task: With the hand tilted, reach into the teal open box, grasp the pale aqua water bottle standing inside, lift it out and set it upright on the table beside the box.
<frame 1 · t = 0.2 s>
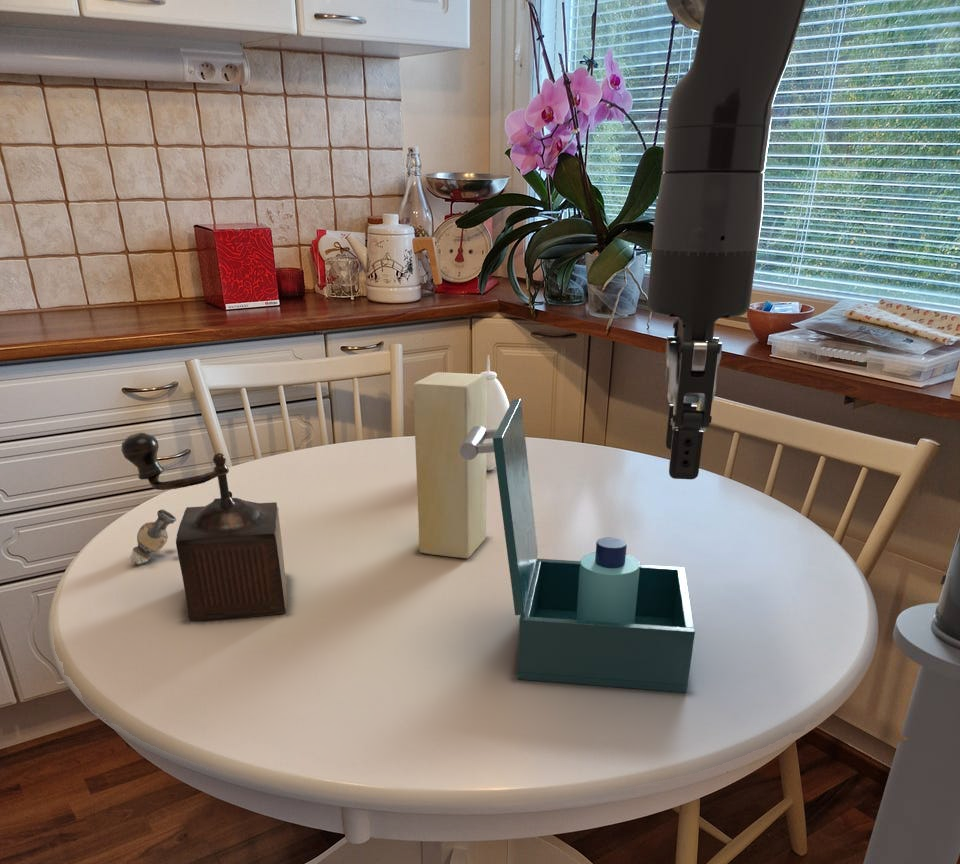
hand: (680, 462, 69), 21 cm above the table, tool pointing down, fingers open, 8 cm apart
toy refrigerator: (450, 546, 109), on the table
vase: (159, 559, 105), on the table
manual coffee grinder: (217, 600, 95), on the table
water bottle: (603, 646, 84), point 1 cm above the table, touching teal open box
sauce bottle: (487, 469, 139), on the table
teal box lid: (498, 504, 80), point 15 cm above the table, hinge at 98.0°
teal open box: (602, 648, 85), on the table
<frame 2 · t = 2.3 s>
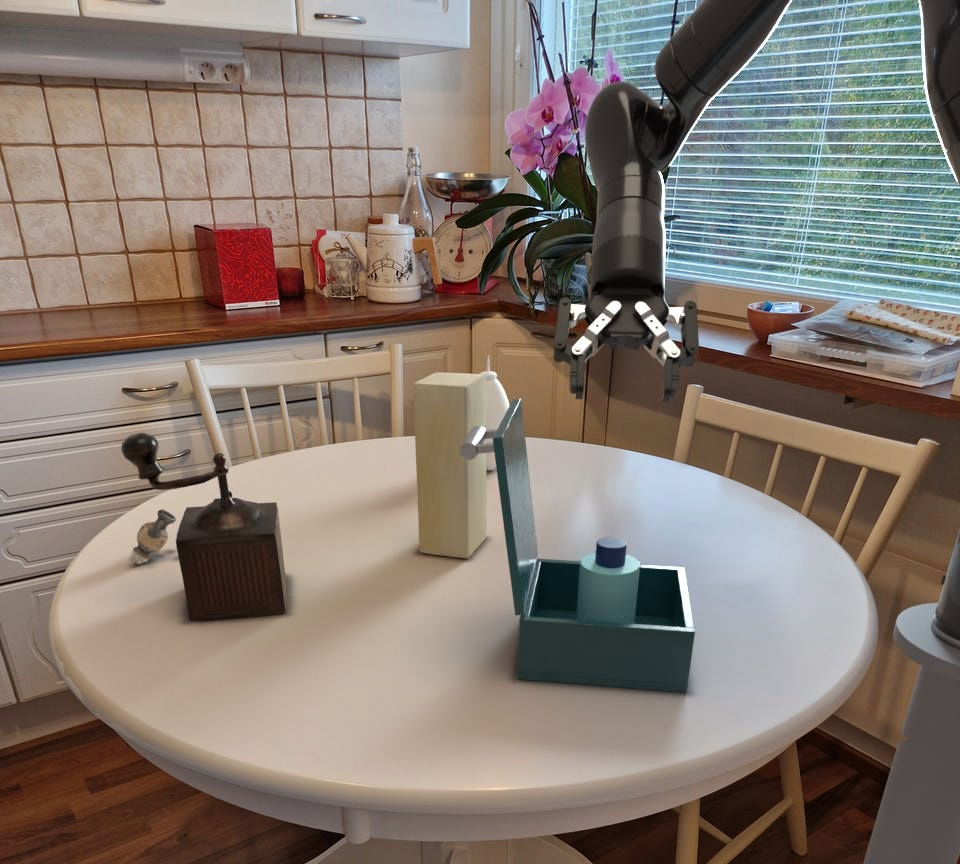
hand: (623, 396, 84), 23 cm above the table, tool tilted 45°, fingers open, 8 cm apart
nothing on the table moved.
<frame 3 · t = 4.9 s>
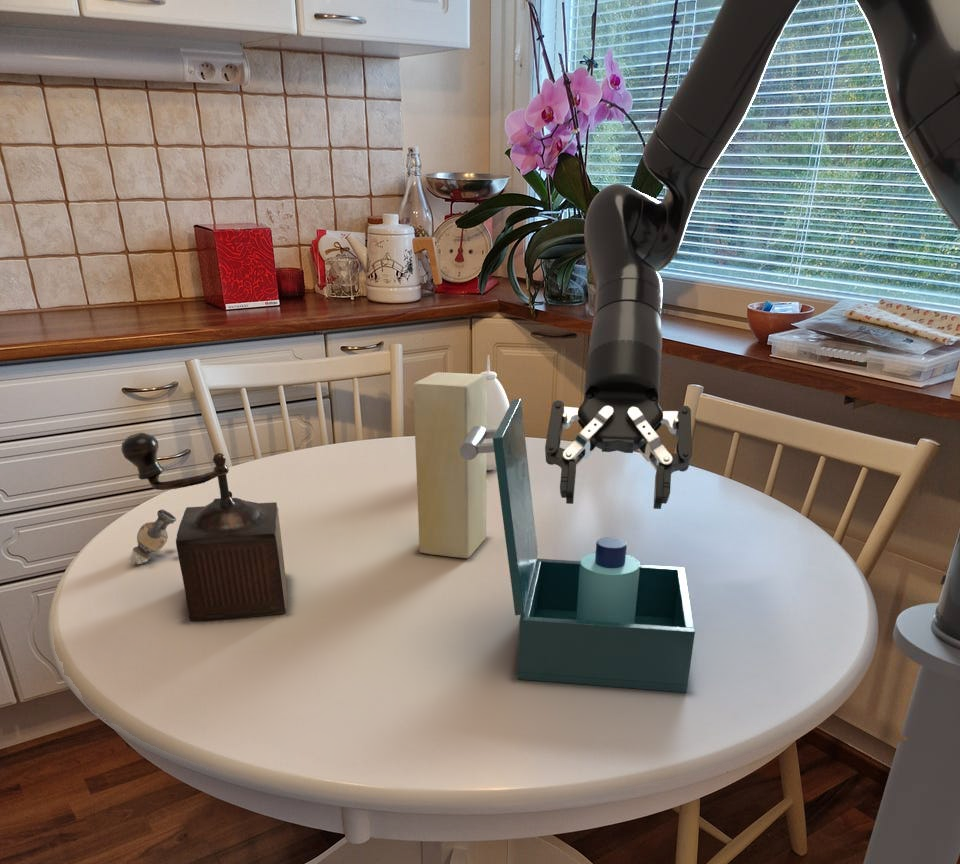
hand: (613, 503, 82), 14 cm above the table, tool tilted 45°, fingers open, 8 cm apart
nothing on the table moved.
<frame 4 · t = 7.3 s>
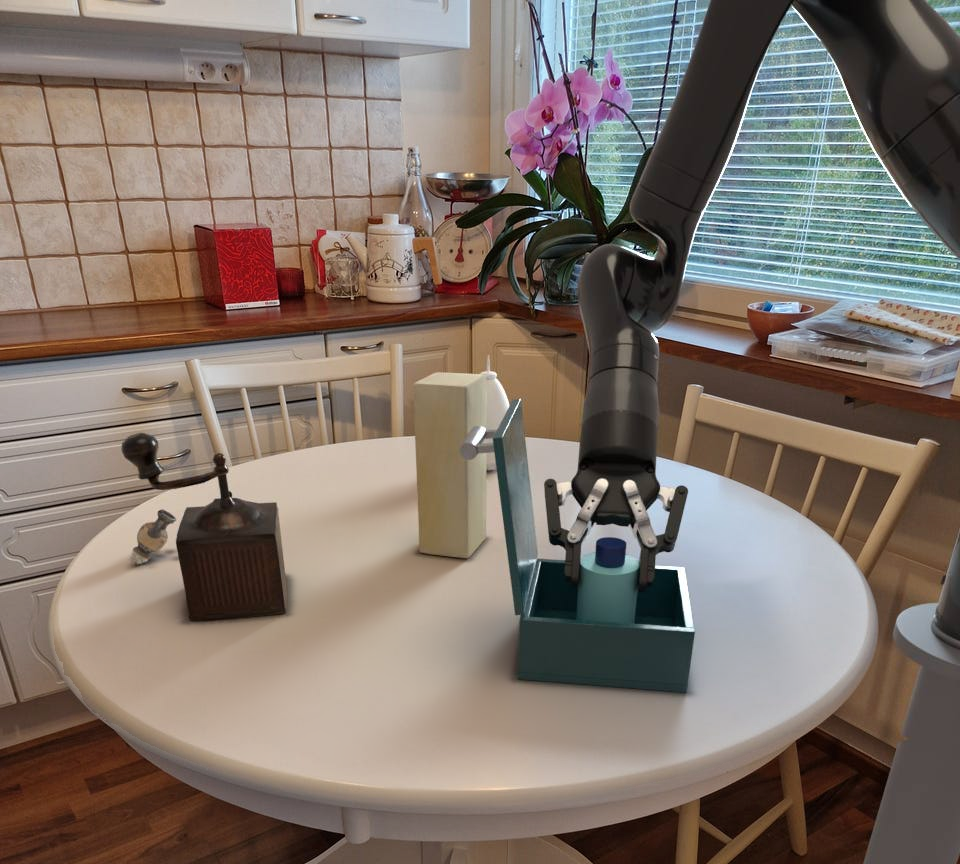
hand: (608, 587, 79), 8 cm above the table, tool tilted 45°, fingers closed on water bottle, 5 cm apart
water bottle: (603, 646, 84), point 1 cm above the table, touching teal open box, gripper
everything else where it was.
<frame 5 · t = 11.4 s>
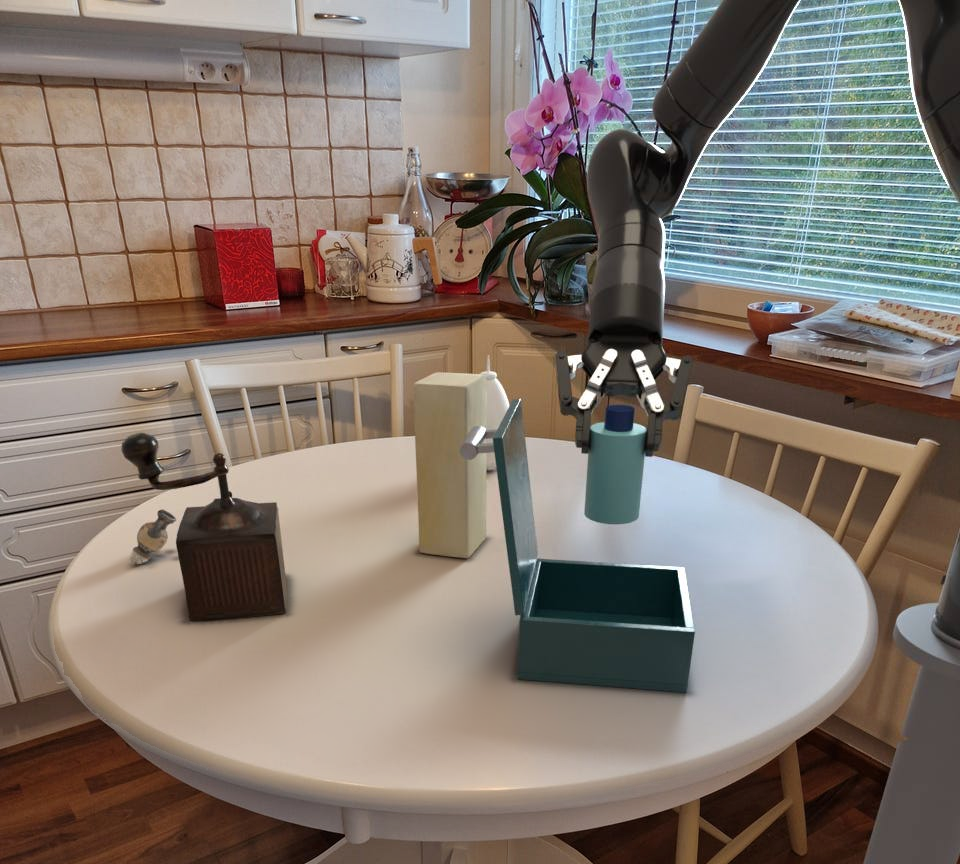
hand: (617, 450, 83), 18 cm above the table, tool tilted 45°, fingers closed on water bottle, 5 cm apart
water bottle: (611, 515, 88), point 11 cm above the table, touching gripper
everything else where it was.
when the fingers open (7 cm above the table, at t = 15.7 s): water bottle stays where it is, on the table.
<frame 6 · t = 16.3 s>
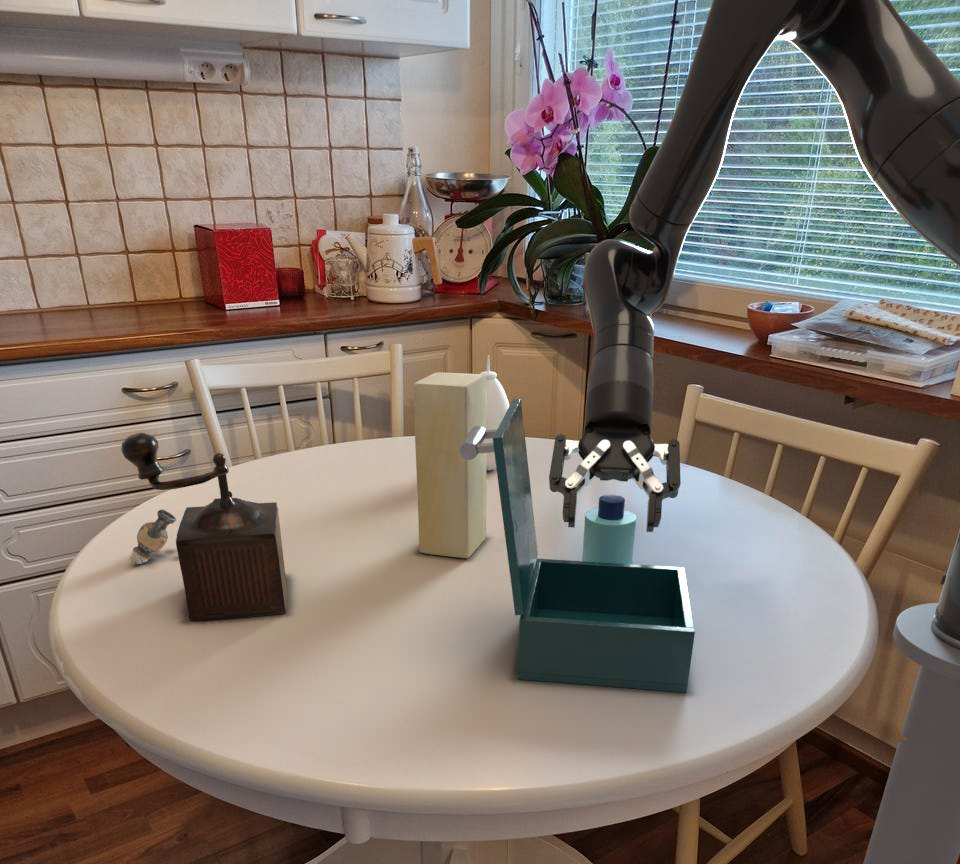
hand: (610, 527, 92), 8 cm above the table, tool tilted 45°, fingers open, 8 cm apart
water bottle: (604, 590, 97), on the table
everything else where it was.
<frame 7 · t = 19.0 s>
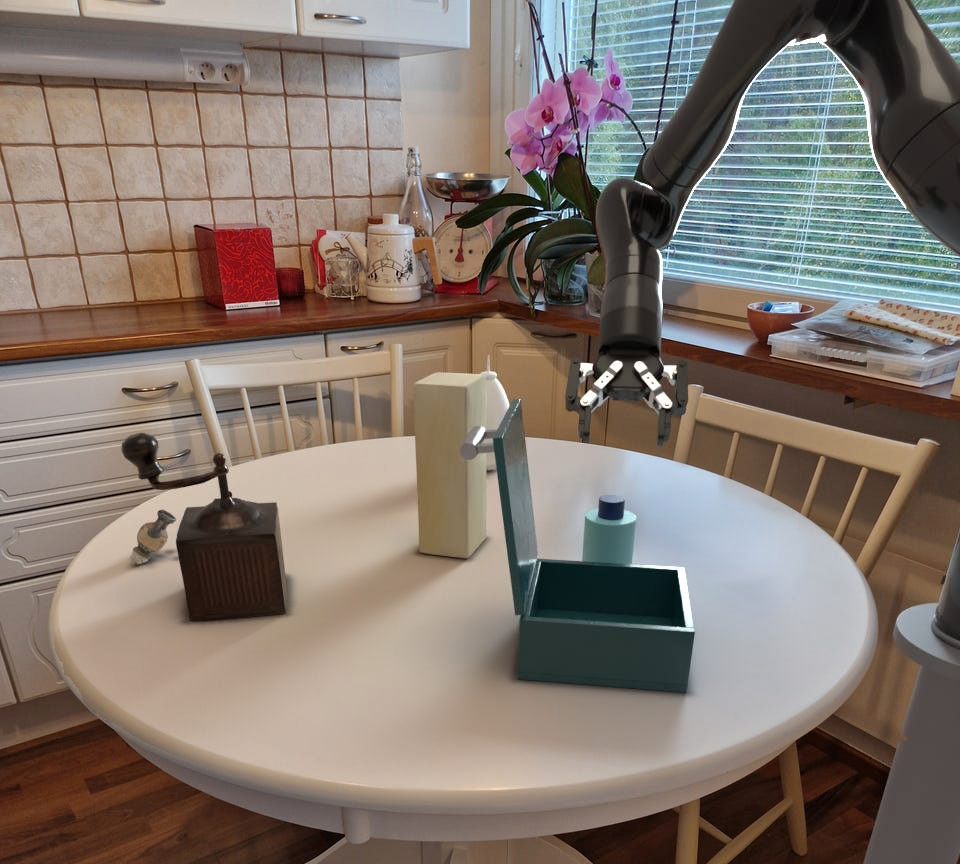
hand: (623, 441, 99), 15 cm above the table, tool tilted 45°, fingers open, 8 cm apart
nothing on the table moved.
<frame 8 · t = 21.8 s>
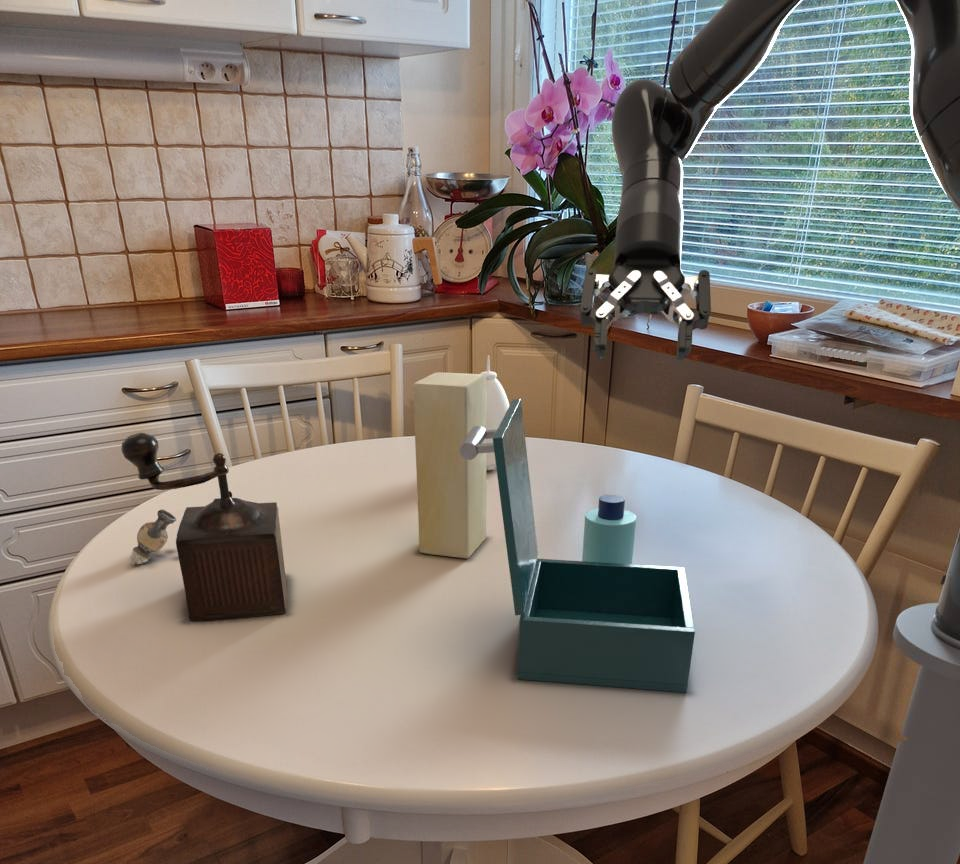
hand: (641, 355, 93), 25 cm above the table, tool tilted 45°, fingers open, 8 cm apart
nothing on the table moved.
at the end: water bottle inside the target area (0.1 cm from its centre), on the table; water bottle tilted 0°; the gripper is holding nothing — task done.
